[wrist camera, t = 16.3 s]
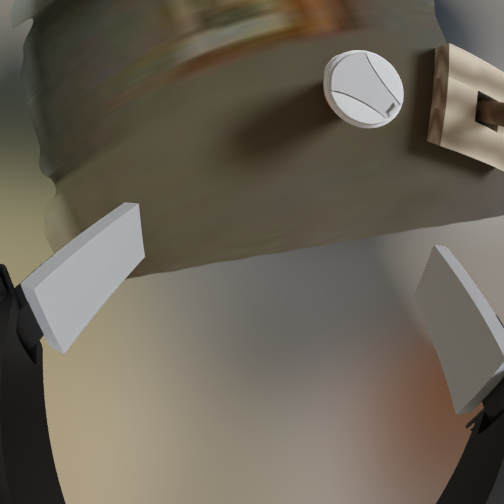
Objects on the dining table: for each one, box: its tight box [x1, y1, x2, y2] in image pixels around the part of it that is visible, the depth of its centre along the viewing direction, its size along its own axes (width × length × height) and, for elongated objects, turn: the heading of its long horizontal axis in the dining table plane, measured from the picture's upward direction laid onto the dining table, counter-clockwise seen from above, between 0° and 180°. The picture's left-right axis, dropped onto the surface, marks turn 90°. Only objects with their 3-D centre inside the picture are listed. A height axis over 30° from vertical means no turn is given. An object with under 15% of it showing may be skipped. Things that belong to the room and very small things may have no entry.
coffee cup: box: [323, 50, 403, 128], centre depth 27 cm, size 8×8×15 cm
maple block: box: [426, 43, 504, 171], centre depth 27 cm, size 16×16×5 cm
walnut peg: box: [475, 100, 504, 127], centre depth 23 cm, size 4×4×15 cm
